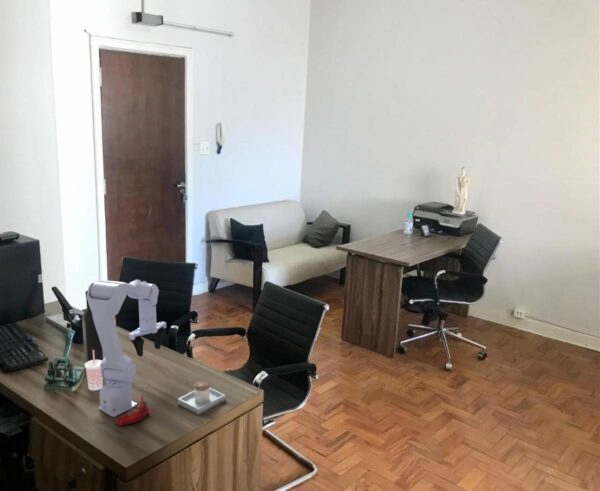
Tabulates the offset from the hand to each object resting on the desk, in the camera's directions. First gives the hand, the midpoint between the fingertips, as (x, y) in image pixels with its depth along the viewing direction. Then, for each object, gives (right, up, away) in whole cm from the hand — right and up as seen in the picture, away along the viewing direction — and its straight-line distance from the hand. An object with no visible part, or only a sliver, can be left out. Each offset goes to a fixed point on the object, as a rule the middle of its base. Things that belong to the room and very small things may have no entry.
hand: (148, 352), depth 194 cm
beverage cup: (-17, -11, -5) cm, 21 cm away
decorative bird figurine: (+7, -14, -20) cm, 26 cm away
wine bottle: (-23, -8, +9) cm, 26 cm away
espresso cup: (+21, -14, -12) cm, 28 cm away
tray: (+21, -15, -12) cm, 28 cm away
